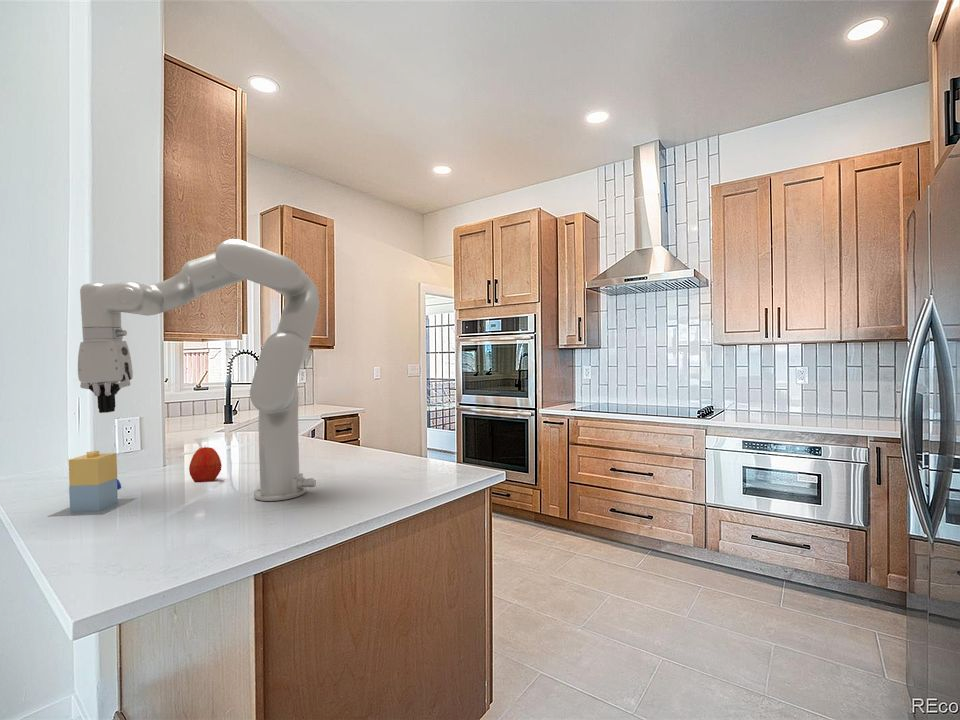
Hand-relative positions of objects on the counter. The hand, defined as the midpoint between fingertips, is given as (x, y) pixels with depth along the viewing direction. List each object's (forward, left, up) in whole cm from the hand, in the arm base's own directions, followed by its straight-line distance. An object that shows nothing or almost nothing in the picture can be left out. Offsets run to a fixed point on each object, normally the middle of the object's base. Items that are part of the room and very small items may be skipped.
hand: (107, 411), depth 119 cm
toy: (+13, -15, -24) cm, 31 cm away
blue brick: (+2, +2, -22) cm, 22 cm away
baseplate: (+2, +2, -23) cm, 24 cm away
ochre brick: (+2, +2, -16) cm, 16 cm away
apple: (-12, -22, -24) cm, 34 cm away
